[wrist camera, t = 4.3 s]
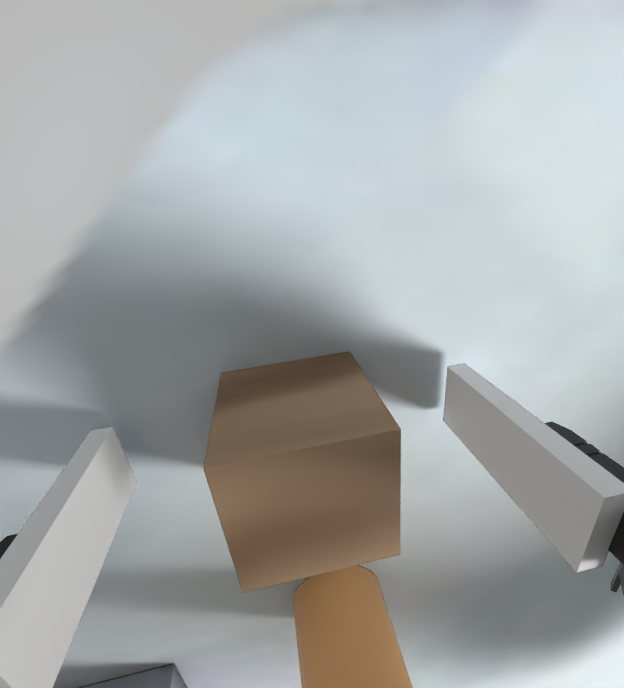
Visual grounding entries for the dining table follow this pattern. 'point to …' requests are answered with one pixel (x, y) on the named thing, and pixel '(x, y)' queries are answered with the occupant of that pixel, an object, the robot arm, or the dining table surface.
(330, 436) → the walnut cube
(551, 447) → the robot arm
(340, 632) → the tan dome-topped cylinder
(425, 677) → the dining table surface
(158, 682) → the tote
